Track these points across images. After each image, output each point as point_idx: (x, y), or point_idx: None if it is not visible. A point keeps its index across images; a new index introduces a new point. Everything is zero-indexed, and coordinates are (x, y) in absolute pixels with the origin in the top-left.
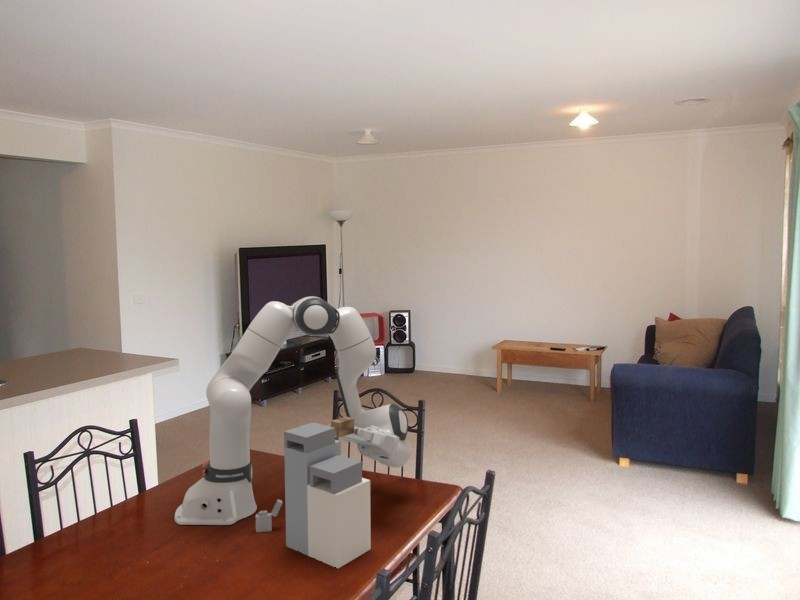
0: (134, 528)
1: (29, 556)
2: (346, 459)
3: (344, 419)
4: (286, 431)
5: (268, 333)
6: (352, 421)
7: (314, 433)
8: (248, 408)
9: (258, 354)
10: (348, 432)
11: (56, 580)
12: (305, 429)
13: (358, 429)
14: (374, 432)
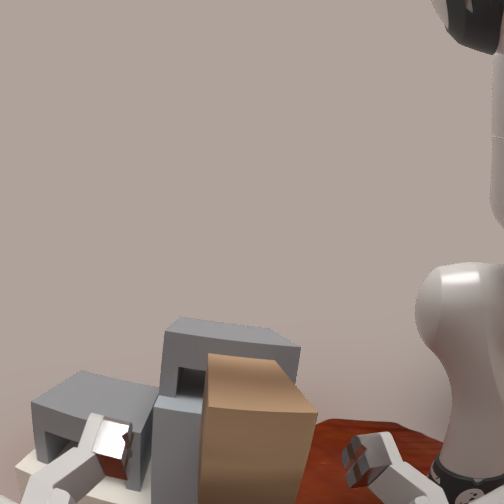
0: (418, 466)
1: (387, 427)
2: (88, 412)
3: (245, 381)
4: (264, 328)
5: (492, 119)
6: (205, 416)
7: (185, 321)
8: (433, 315)
9: (492, 182)
10: (199, 461)
11: (332, 430)
12: (240, 330)
13: (107, 417)
14: (10, 500)
